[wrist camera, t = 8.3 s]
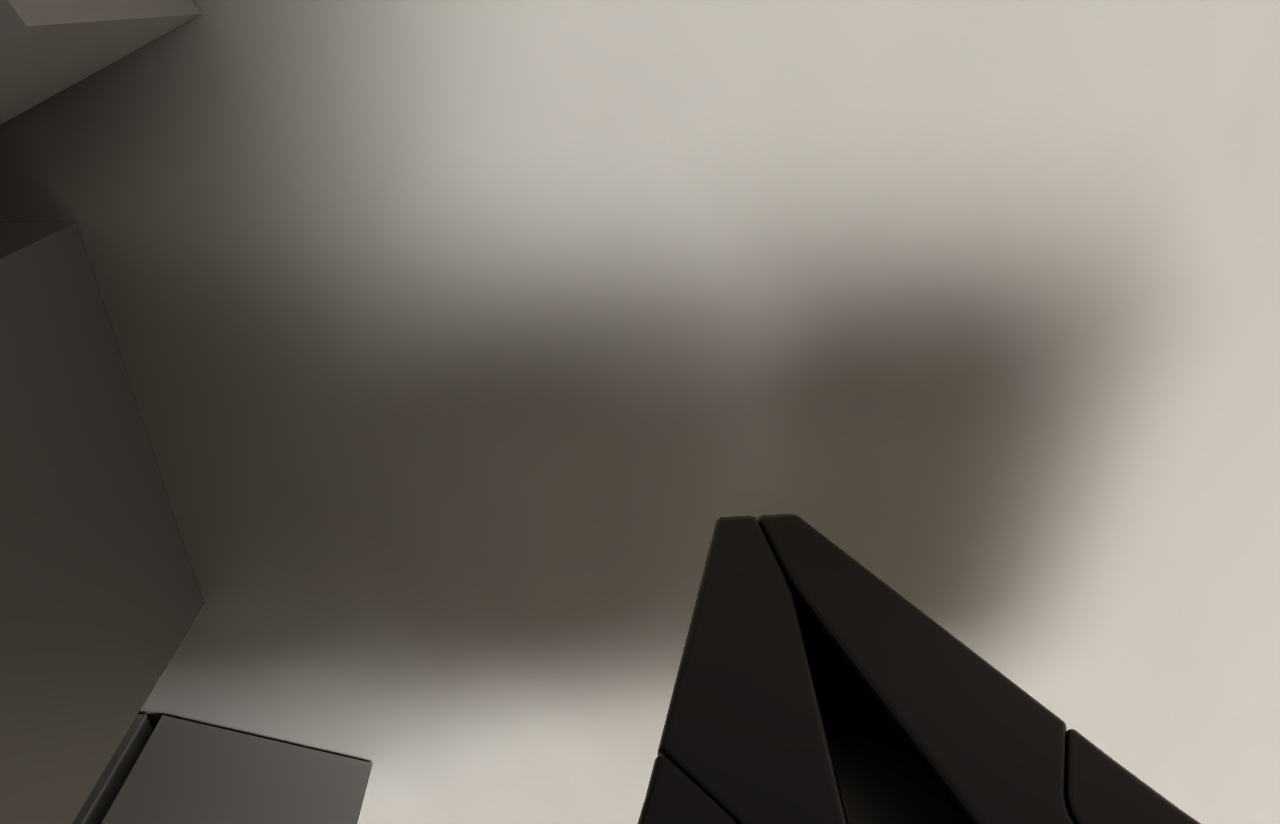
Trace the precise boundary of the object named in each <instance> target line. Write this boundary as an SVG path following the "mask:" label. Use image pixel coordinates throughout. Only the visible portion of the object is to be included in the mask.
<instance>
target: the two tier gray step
mask: <svg viewBox="0 0 1280 824" xmlns="http://www.w3.org/2000/svg"><path fill="white" fill-rule="evenodd" d="M203 604H204V603H203V600H202V597H201V594H200V591H199V588H198V585H197V582H196V579H195V576H194V573H193V570H192V567H191V564H190V561H189V558H188V555H187V552H186V549H185V546H184V543H183V540H182V537H181V534H180V531H179V528H178V525H177V522H176V519H175V516H174V513H173V510H172V507H171V504H170V501H169V498H168V495H167V492H166V489H165V486H164V483H163V480H162V477H161V474H160V471H159V468H158V465H157V462H156V459H155V456H154V453H153V450H152V447H151V444H150V441H149V438H148V435H147V432H146V429H145V426H144V423H143V420H142V417H141V414H140V411H139V408H138V405H137V402H136V399H135V396H134V393H133V390H132V387H131V384H130V381H129V378H128V375H127V372H126V369H125V366H124V363H123V360H122V357H121V354H120V351H119V348H118V345H117V342H116V339H115V336H114V333H113V330H112V327H111V324H110V321H109V318H108V315H107V312H106V309H105V306H104V303H103V300H102V297H101V294H100V291H99V288H98V285H97V282H96V279H95V276H94V273H93V270H92V267H91V264H90V261H89V258H88V255H87V252H86V249H85V246H84V243H83V240H82V237H81V234H80V231H79V228H78V225H77V222H0V824H72V823H73V822H74V820H75V818H76V817H77V815H78V813H79V812H80V810H81V808H82V806H83V805H84V803H85V801H86V800H87V798H88V796H89V795H90V793H91V791H92V790H93V788H94V786H95V785H96V783H97V781H98V780H99V778H100V776H101V775H102V773H103V771H104V770H105V768H106V766H107V765H108V763H109V761H110V760H111V758H112V756H113V755H114V753H115V751H116V750H117V748H118V746H119V744H120V743H121V741H122V739H123V738H124V736H125V734H126V733H127V731H128V729H129V728H130V726H131V724H132V723H133V721H134V719H135V718H136V716H137V714H138V713H139V711H140V709H141V708H142V706H143V704H144V703H145V701H146V699H147V698H148V696H149V694H150V693H151V691H152V689H153V688H154V686H155V684H156V682H157V681H158V679H159V677H160V676H161V674H162V672H163V671H164V669H165V667H166V666H167V664H168V662H169V661H170V659H171V657H172V656H173V654H174V652H175V651H176V649H177V647H178V646H179V644H180V642H181V641H182V639H183V637H184V636H185V634H186V632H187V631H188V629H189V627H190V626H191V624H192V622H193V620H194V619H195V617H196V615H197V614H198V612H199V610H200V609H201V607H202V605H203Z"/></svg>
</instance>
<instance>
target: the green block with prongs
mask: <svg viewBox="0 0 1280 824" xmlns="http://www.w3.org/2000/svg"><path fill="white" fill-rule="evenodd" d="M199 15H201V12H200V11H199V9H198V8H197V6H196V5H195V3H194V2H193V0H0V125H1V124H3V123H5V122H6V121H8V120H10V119H12V118H14V117H15V116H17V115H19V114H21V113H23V112H25V111H26V110H28V109H30V108H32V107H34V106H35V105H37V104H39V103H41V102H43V101H44V100H46V99H48V98H50V97H52V96H54V95H55V94H57V93H59V92H61V91H63V90H64V89H66V88H68V87H70V86H72V85H74V84H75V83H77V82H79V81H81V80H83V79H84V78H86V77H88V76H90V75H92V74H93V73H95V72H97V71H99V70H101V69H103V68H104V67H106V66H108V65H110V64H112V63H113V62H115V61H117V60H119V59H121V58H123V57H124V56H126V55H128V54H130V53H132V52H133V51H135V50H137V49H139V48H141V47H143V46H144V45H146V44H148V43H150V42H152V41H153V40H155V39H157V38H159V37H161V36H162V35H164V34H166V33H168V32H170V31H172V30H173V29H175V28H177V27H179V26H181V25H182V24H184V23H186V22H188V21H190V20H192V19H193V18H195V17H197V16H199ZM371 767H372V763H370V762H366V761H361V760H357V759H352V758H348V757H344V756H339V755H335V754H331V753H326V752H322V751H317V750H313V749H309V748H304V747H300V746H295V745H291V744H287V743H282V742H278V741H274V740H269V739H265V738H260V737H256V736H252V735H247V734H243V733H238V732H234V731H230V730H225V729H221V728H217V727H212V726H208V725H203V724H199V723H195V722H190V721H186V720H181V719H177V718H173V717H168V716H164V715H162V717H161V719H160V720H159V722H158V724H157V726H156V727H155V729H154V731H153V729H152V727H151V725H150V722H149V720H148V718H147V715H146V714H137V716H136V718H135V719H134V721H133V723H132V724H131V726H130V728H129V729H128V731H127V733H126V734H125V736H124V738H123V739H122V741H121V743H120V744H119V746H118V748H117V750H116V751H115V753H114V755H113V756H112V758H111V760H110V761H109V763H108V765H107V766H106V768H105V770H104V771H103V773H102V775H101V776H100V778H99V780H98V781H97V783H96V785H95V786H94V788H93V790H92V791H91V793H90V795H89V796H88V798H87V800H86V801H85V803H84V805H83V806H82V808H81V810H80V812H79V813H78V815H77V817H76V818H75V820H74V822H73V823H72V824H357V822H358V818H359V814H360V810H361V806H362V802H363V798H364V795H365V791H366V787H367V783H368V779H369V775H370V771H371Z"/></svg>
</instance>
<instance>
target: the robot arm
mask: <svg viewBox="0 0 1280 824" xmlns="http://www.w3.org/2000/svg"><path fill="white" fill-rule="evenodd" d="M638 824H1200V823H1199V822H1198V821H1196V820H1195V819H1193V818H1192V817H1190V816H1189V815H1187V814H1186V813H1185V812H1183V811H1182V810H1180V809H1179V808H1178V807H1176V806H1175V805H1174V804H1172V803H1171V802H1170V801H1168V800H1167V799H1165V798H1164V797H1163V796H1161V795H1160V794H1159V793H1157V792H1156V791H1155V790H1153V789H1152V788H1151V787H1149V786H1148V785H1147V784H1145V783H1144V782H1143V781H1141V780H1140V779H1139V778H1137V777H1136V776H1135V775H1133V774H1132V773H1131V772H1129V771H1128V770H1127V769H1125V768H1124V767H1123V766H1121V765H1120V764H1118V763H1117V762H1116V761H1114V760H1113V759H1112V758H1111V757H1109V756H1108V755H1107V754H1105V753H1104V752H1103V751H1102V750H1100V749H1099V748H1098V747H1096V746H1095V745H1094V744H1092V743H1091V742H1090V741H1089V740H1087V739H1086V738H1085V737H1083V736H1082V735H1081V734H1080V733H1078V732H1077V731H1076V730H1073V729H1070V730H1068V731H1067V732H1066V724H1065V723H1064V721H1062V720H1061V719H1060V718H1058V717H1057V716H1056V715H1055V714H1053V713H1052V712H1051V711H1049V710H1048V709H1047V708H1046V707H1044V706H1043V705H1042V704H1040V703H1039V702H1038V701H1036V700H1035V699H1034V698H1033V697H1031V696H1030V695H1029V694H1027V693H1026V692H1025V691H1024V690H1022V689H1021V688H1020V687H1018V686H1017V685H1016V684H1015V683H1013V682H1012V681H1011V680H1009V679H1008V678H1007V677H1005V676H1004V675H1003V674H1002V673H1000V672H999V671H998V670H996V669H995V668H994V667H993V666H991V665H990V664H989V663H987V662H986V661H985V660H984V659H982V658H981V657H980V656H978V655H977V654H976V653H974V652H973V651H972V650H971V649H969V648H968V647H967V646H965V645H964V644H963V643H962V642H960V641H959V640H958V639H956V638H955V637H954V636H953V635H951V634H950V633H949V632H947V631H946V630H945V629H944V628H942V627H941V626H940V625H938V624H937V623H936V622H934V621H933V620H932V619H931V618H929V617H928V616H927V615H925V614H924V613H923V612H922V611H920V610H919V609H918V608H916V607H915V606H914V605H913V604H911V603H910V602H909V601H907V600H906V599H905V598H903V597H902V596H901V595H900V594H898V593H897V592H896V591H894V590H893V589H892V588H891V587H889V586H888V585H887V584H885V583H884V582H883V581H882V580H880V579H879V578H878V577H876V576H875V575H874V574H873V573H871V572H870V571H869V570H867V569H866V568H865V567H863V566H862V565H861V564H860V563H858V562H857V561H856V560H854V559H853V558H852V557H851V556H849V555H848V554H847V553H845V552H844V551H843V550H842V549H840V548H839V547H838V546H836V545H835V544H834V543H832V542H831V541H830V540H829V539H827V538H826V537H825V536H823V535H822V534H821V533H820V532H818V531H817V530H816V529H814V528H813V527H812V526H811V525H809V524H808V523H807V522H805V521H804V520H803V519H801V518H800V517H798V516H797V515H794V514H779V515H762V516H760V517H759V518H758V519H756V518H754V517H752V516H732V517H721V518H719V519H718V520H717V521H716V525H715V528H714V532H713V536H712V540H711V544H710V548H709V552H708V556H707V560H706V564H705V568H704V572H703V576H702V580H701V584H700V587H699V591H698V595H697V599H696V603H695V607H694V611H693V615H692V619H691V623H690V627H689V631H688V635H687V639H686V643H685V646H684V650H683V654H682V658H681V662H680V666H679V670H678V674H677V678H676V682H675V686H674V690H673V694H672V698H671V702H670V705H669V709H668V713H667V717H666V721H665V725H664V729H663V733H662V737H661V741H660V745H659V749H658V757H657V758H656V759H655V762H654V766H653V770H652V774H651V778H650V782H649V786H648V790H647V794H646V798H645V801H644V804H643V808H642V811H641V815H640V818H639V821H638Z"/></svg>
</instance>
